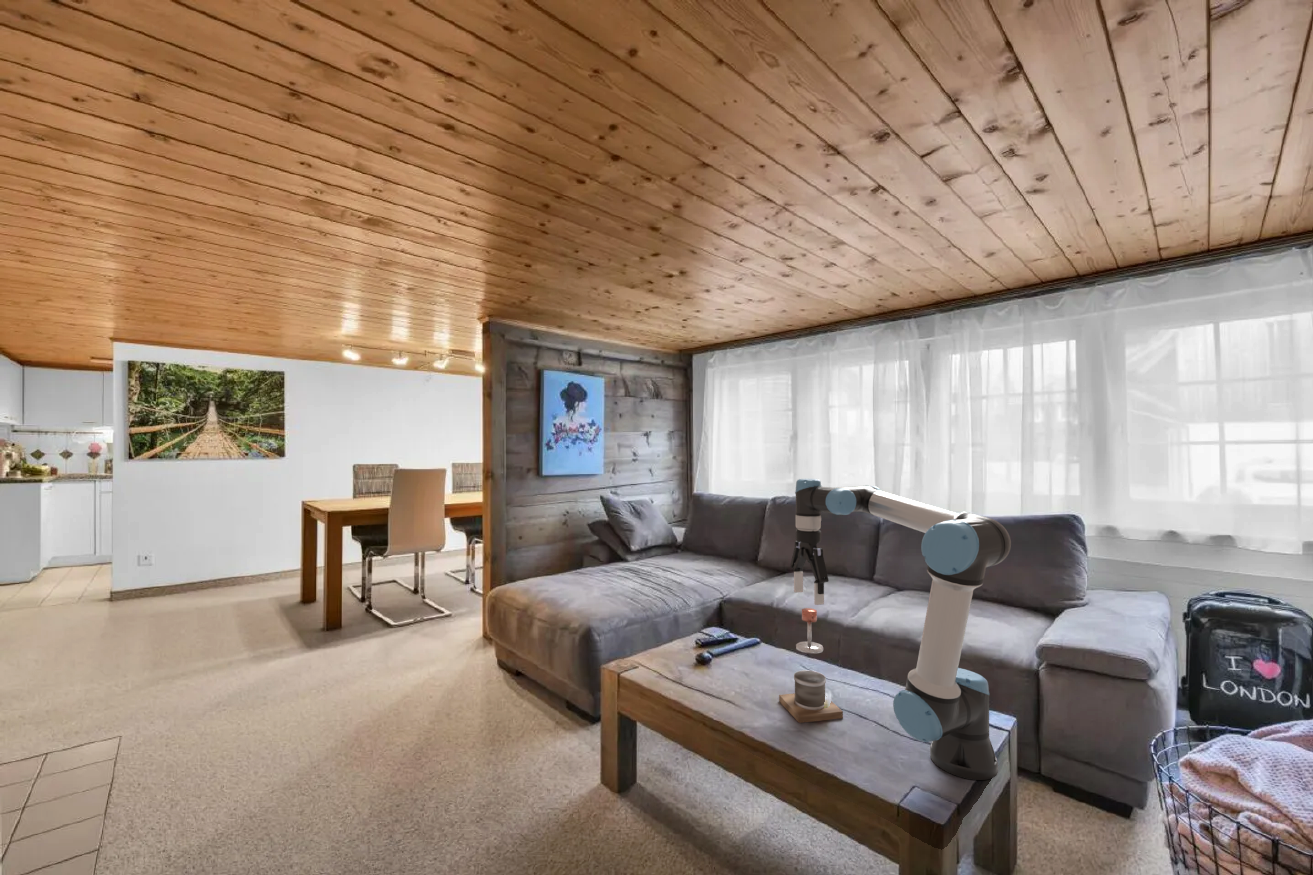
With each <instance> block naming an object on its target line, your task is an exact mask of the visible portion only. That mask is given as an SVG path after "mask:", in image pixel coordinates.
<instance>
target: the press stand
mask: <svg viewBox="0 0 1313 875" xmlns="http://www.w3.org/2000/svg"><path fill="white" fill-rule="evenodd" d="M793 678H794V693H783V694H779V695H778V702H779V703H780V704H781V705H782V706H783V707H784V708H785V709H786V711H788V713H789V714H790V715H791V716H792V717H793V718H794V719H795V720H796V722H798V723H799V724H801V723H811V722H819V721H829V720H837V719H844V711H843V710H842V709H841V708H839V706H837V704H835V703H834V702H833V701H832V700H831V703H830V706H829V707H828V708H824V706H825V705H824V702H825V696H826V683H827V681H826V680H827V679H826V676H825V675H824V674H823V673H821V672H818V671H814V670H810V669H809V670H806V669H805V670H798V671H795V673H794V674H793Z"/></svg>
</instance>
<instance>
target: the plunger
mask: <svg viewBox="0 0 1313 875" xmlns="http://www.w3.org/2000/svg"><path fill="white" fill-rule="evenodd" d="M817 615H818V611H817V609H814V608H811V607H804V608H802V609H801V620H802V621H803V622H806V623H807V630H806V631H807V634H806V635H807V637H806V638H807V641H799V642H797V643H796V644H795V647H796V648H795V649H796V651H798V652H801V653H805V654H809V655H811V654H812V655H813V654H814V655H816V654H820V653H823V651H824V647H823V645H822V644H820V643H817V642H814V641H812V639H813V637H812V623H816V622H817V620H818V616H817Z"/></svg>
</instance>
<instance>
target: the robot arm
mask: <svg viewBox="0 0 1313 875" xmlns="http://www.w3.org/2000/svg"><path fill="white" fill-rule="evenodd" d="M821 482H822V481H821V480H820V479H819V478H818V479H817V478H799V479H797V480H796V483H795V491H794V493H795V528H796V529H795V540H794V549H793V552H792V558H791V562H790V565H789V566H790V568H791V569H792V572H793V593H798V594H799V593H804V572H803V571H804V568H803V567H804V566H805V564H806V562H808V564H809V565H810V568H811V571H812V573H813V577H814V581H813V584H814V589H813V590H814V595H813V597H814V598H813V600H814V601H813V602H814V603H813V604H814V606H819V605H825V583H829V581H830V580H829V575H828V572H827V568H826V562H825V558H824V549H823V547H822V548H821V547H820V548H818V544H819V543H821V541H822V531H821V530H820V529H821V526H822V525H821V524H822V523H821V521H822V513H829V514H833V515H836V516H840V515H841V516H842V515H843V516H847V515H851V513H854V512H855V513H856V512H862V513H866V514H869V515H872V516H875V517H878V518H881V519H883V520H887V521H890V522H893V523H895V524H898V525H902V526H904V527H907V528H909V529H913V530H915V531H917V532H918V531H919V532H922V533H923V537H922V540H921V545H920V546H921V547H920V548H921V554H922V557H924V561H925V563H926V564H927V568H926V572H927V574H929V577H931V579H932V581H931V586H930V590H929V591H930V592H929V599H928V604H927V607H926V614H925V619H924V623H923V624H924V625H923V630H922V636H921V639H920V640H921V641H920V646H919V651H918V658H917V663H916V668H913V669H911V670H910V671H909V672H908V673H907V678H906V684H905V688H904V689H902V690H900V691H898V692H897V693H896V694H895V696H894V698H893V701H892V702H893V703H892V705H893V706H892V707H893V712H894V715H895V718H896V720H898V723H899V725H900V727H901V728H902V729H903V730H904V732H905V733H907V735H908V736H910V737H912V738H913V739H915V740H916V741H919V742H923V743H930V742H931V744H930V746H929V754H930V755H929V756H930V759H931V761H932V762H933V763H934V764H935V765H936V766H937V767H938V768H940V769H941V770H943V771H945V772H946V773H949V774H951V775H953V776H956V777H960V778H963V779H967V780H973V781H975V780H976V781H986V780H992V779H994V778H995V777H997V775H998V773H999V763H998V762H999V761H998V759H997V756H996V754H995V753H996V752H995V749H994V748H993V744H992V741H991V739H990V695H991V694H990V691H989V690H990V688H989V682H988V680H987V679H986V678H985V677H984V676H983V675H981V674H979V673H977V672H974V671H971V670H969V669H965V668H961V667H959V664H960V659H961V655H962V650H963V644H964V639H965V634H966V628H967V625H968V621H969V620H968V619H969V615H970V611H971V610H970V609H971V604H972V598H973V595H974V590H975V589H977V588H980V587H981V586H983V584H984V579H985V574H986V568H988V567H993V566H996V565H998V564H1000V563H1002V562H1003V561H1004V560H1005V559H1006V558H1007V557H1008V555H1009V554H1010V551H1011V548H1012V547H1011V545H1012V541H1011V536H1010V534H1009V532H1008V531H1007V529H1006V528H1005V527H1004V525H1002V523H1000V522H998V521H997V520H996V519H993V518H990V517H988V516H987V517H986V516H983V515H979V514H975V513H971V512H967V511H962V512H960V513H957V512H954V511H950V510H947V509H943V508H941V507H937V506H933V505H930V504H927V503H926V504H925V503H923V502H919V501H917V500H912V499H910V498H906V497H903V496H900V495H897V494H892V493H889V492H886V491H883V490H881V488H879V487H878V486H876V485H868V484H865V485H858V486H839V487H838V486H837V487H830V486H829V487H827V486H822V483H821Z"/></svg>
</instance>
